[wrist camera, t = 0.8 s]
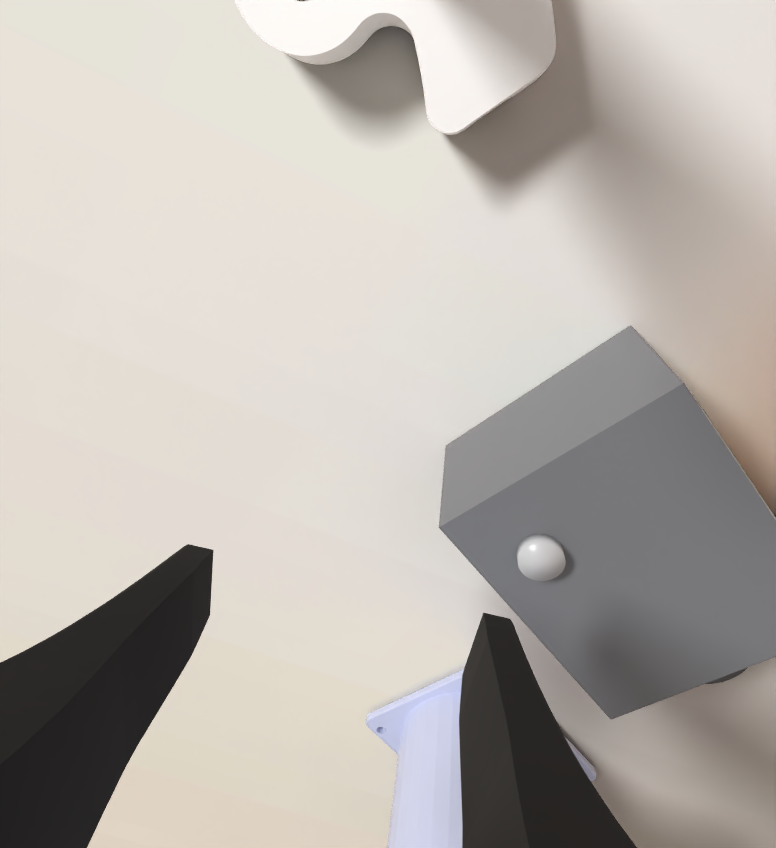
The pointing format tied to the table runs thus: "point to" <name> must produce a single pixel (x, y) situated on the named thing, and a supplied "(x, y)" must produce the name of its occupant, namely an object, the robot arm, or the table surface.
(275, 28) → the joystick
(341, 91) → the table surface
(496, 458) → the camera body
